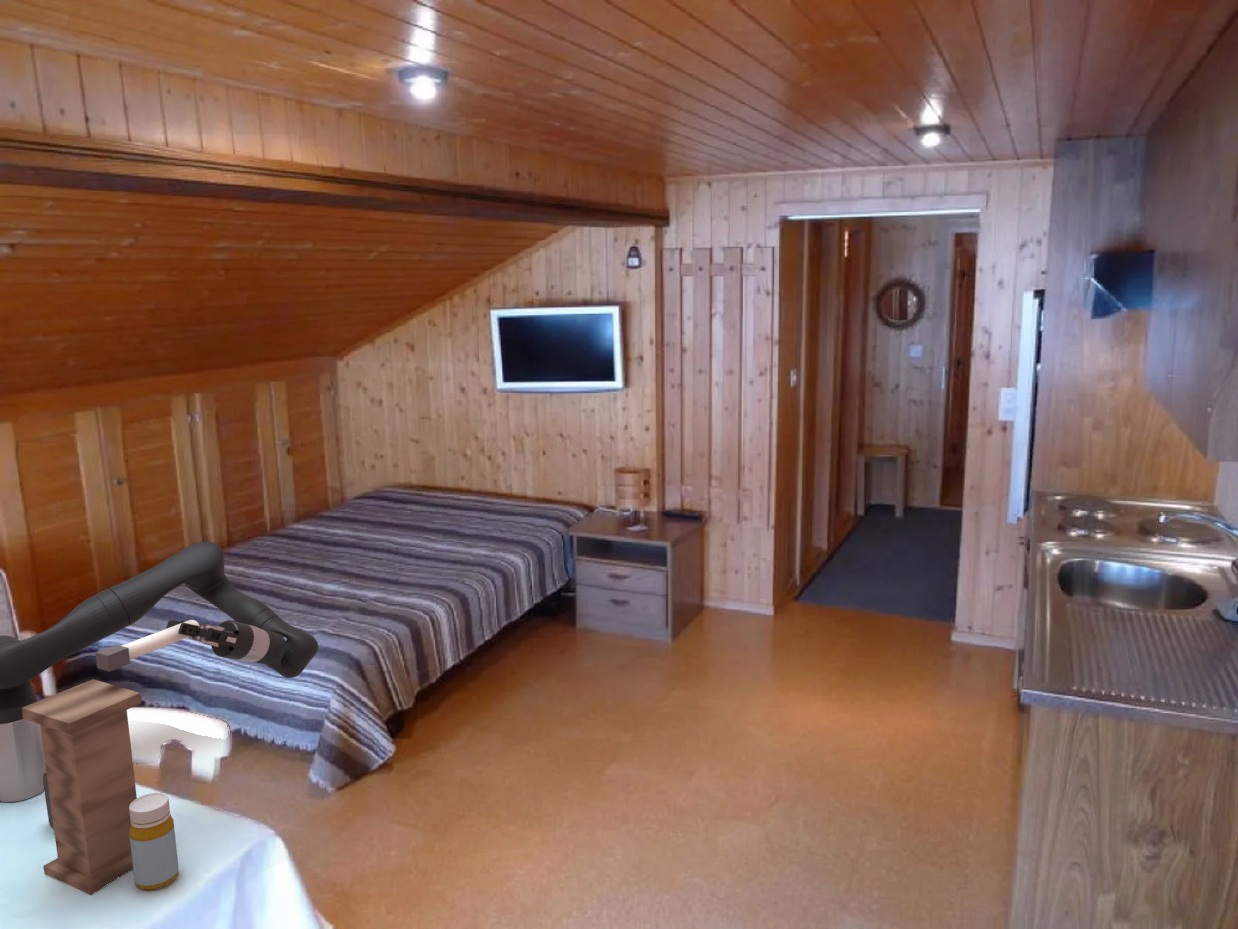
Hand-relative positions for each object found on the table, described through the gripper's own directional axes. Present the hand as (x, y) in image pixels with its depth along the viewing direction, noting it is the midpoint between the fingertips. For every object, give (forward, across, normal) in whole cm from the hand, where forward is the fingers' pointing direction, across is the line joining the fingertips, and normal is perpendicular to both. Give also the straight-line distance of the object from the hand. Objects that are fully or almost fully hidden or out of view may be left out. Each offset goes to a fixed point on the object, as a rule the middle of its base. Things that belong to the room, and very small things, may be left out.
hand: (174, 626), depth 176 cm
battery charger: (-6, +18, -42) cm, 45 cm away
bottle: (-4, -13, -43) cm, 45 cm away
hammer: (+3, 0, -5) cm, 6 cm away
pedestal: (-2, 0, -43) cm, 43 cm away
